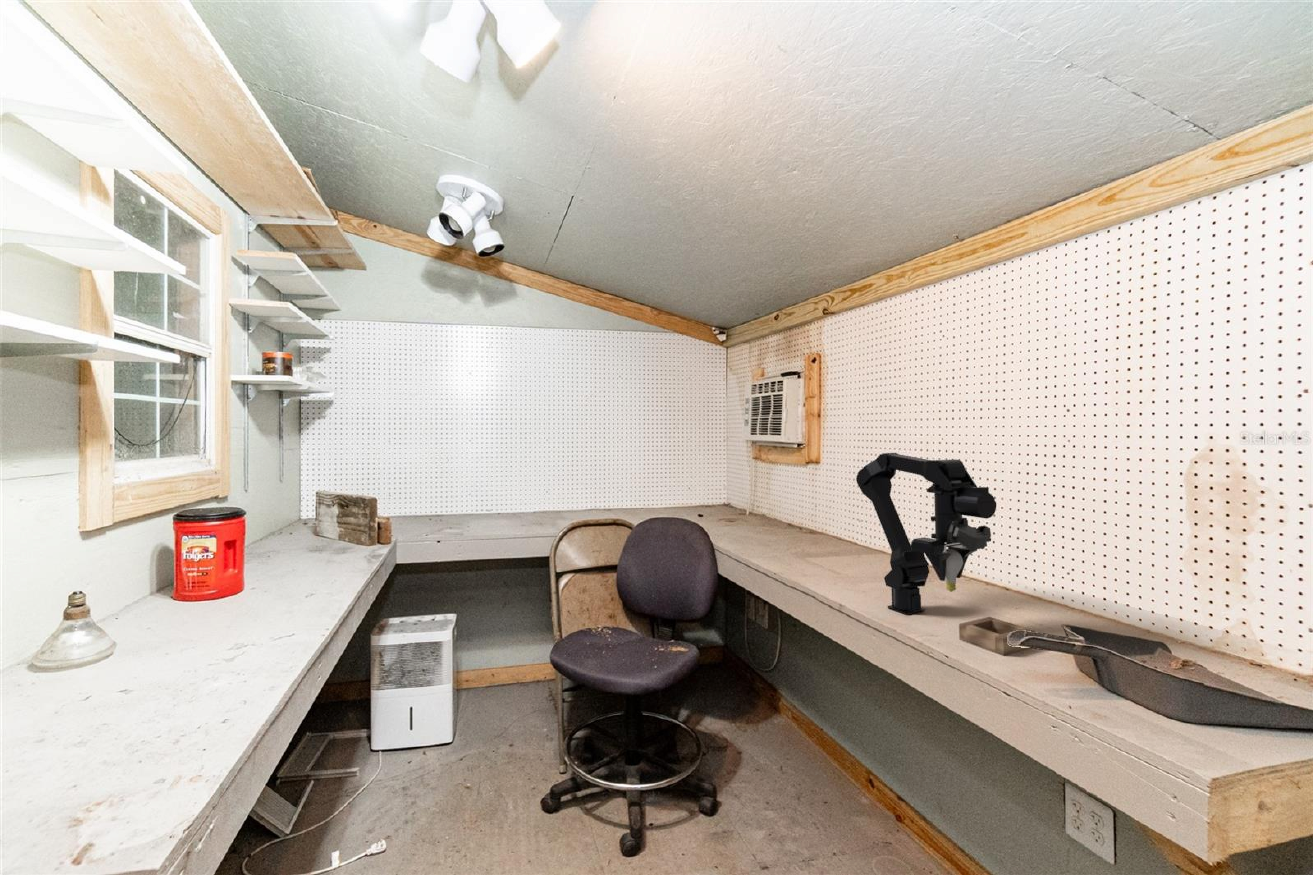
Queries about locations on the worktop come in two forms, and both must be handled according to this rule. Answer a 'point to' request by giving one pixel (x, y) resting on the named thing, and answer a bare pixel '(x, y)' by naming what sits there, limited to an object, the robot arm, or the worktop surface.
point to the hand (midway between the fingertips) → (950, 579)
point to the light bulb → (952, 568)
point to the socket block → (990, 634)
